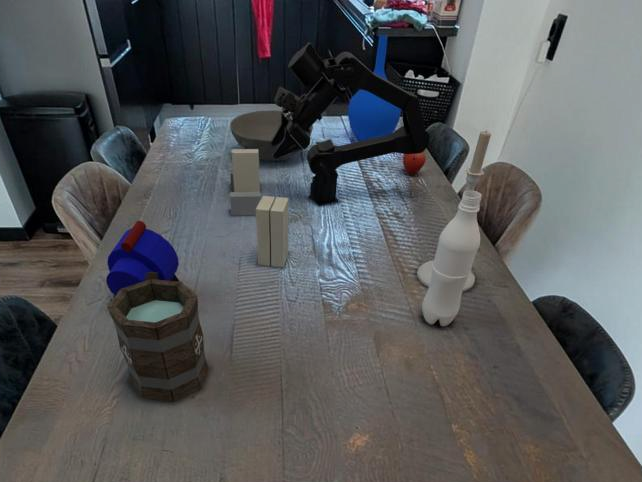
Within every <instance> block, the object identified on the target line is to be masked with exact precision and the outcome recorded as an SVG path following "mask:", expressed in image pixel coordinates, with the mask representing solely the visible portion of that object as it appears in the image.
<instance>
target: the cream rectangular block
mask: <svg viewBox="0 0 642 482" xmlns="http://www.w3.org/2000/svg"><path fill="white" fill-rule="evenodd" d="M231 166H233V180H234V192H260V193H261V184H260V183H261V182H260V158H259V152H258V149H243V148H231Z"/></svg>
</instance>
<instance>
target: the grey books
mask: <svg viewBox="0 0 642 482" xmlns="http://www.w3.org/2000/svg"><path fill="white" fill-rule="evenodd" d="M229 168H230V169H229V170H230V173H229V176H230V189H231V191H229V199H230V200H229V203H230V212H231V213H230V214H231V216H232V217H233V216H256V208H257V206H258V204H259V202H260V200H261V198H262V194H261V191H260V192H234V180H233V166H232V165H230V167H229Z"/></svg>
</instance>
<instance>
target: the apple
mask: <svg viewBox="0 0 642 482" xmlns="http://www.w3.org/2000/svg"><path fill="white" fill-rule="evenodd" d="M426 159H427V158H426V155H425V153H424V152H422V153H419V154H403V158H402V164H403V169H404V170H405V172H406V175H409V176H410V175H412V176H415V175H417V174H418V173H419V171H420V170H422V168H423V167H424V165H425V163H426V161H427V160H426Z"/></svg>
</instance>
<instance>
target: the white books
mask: <svg viewBox="0 0 642 482" xmlns="http://www.w3.org/2000/svg"><path fill="white" fill-rule="evenodd" d="M255 219H256V221H255V222H256V242H257V243H256V244H257V245H256V246H257V265H258V266H267V267H270V266H271V267H274V268H284V266H285V264H286V261H287V259H288V255H289V247H290V246H289V245H290V244H289V241H290V240H289V238H290V236H289V232H290V231H289V230H290V227H289V226H290V198H289V197H281V196H270V195H261V200H260V202H259V204H258V206H257V208H256V215H255Z"/></svg>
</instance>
